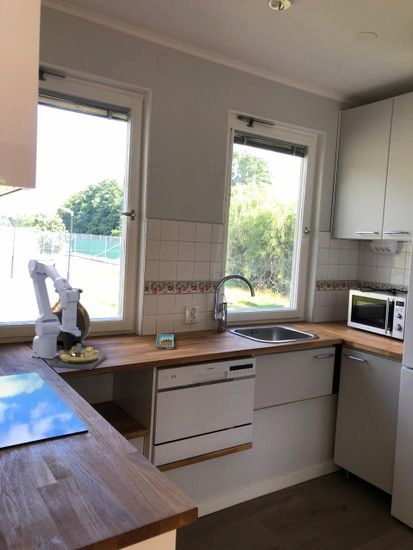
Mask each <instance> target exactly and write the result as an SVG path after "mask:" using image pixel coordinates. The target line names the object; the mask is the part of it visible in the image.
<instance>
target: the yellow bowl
mask: <svg viewBox="0 0 413 550" xmlns="http://www.w3.org/2000/svg"><path fill="white" fill-rule="evenodd" d="M99 350H100V349H94V348H93V346H86V347H85V348H84V347H81V344H80V343H77V344H75V346H72V349H71V350H68V351H66V350H59V353H60V354H59V356H60V359H61V360H62V361H66V362H73V363H83V362H90V361H94V360H96V359H98V353H99Z"/></svg>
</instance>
